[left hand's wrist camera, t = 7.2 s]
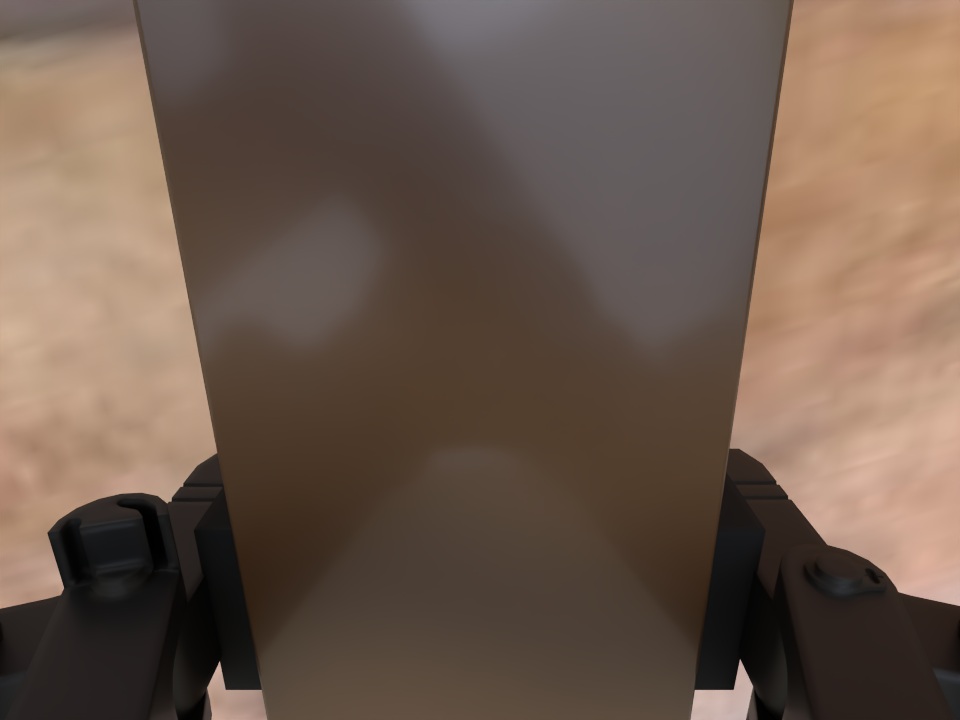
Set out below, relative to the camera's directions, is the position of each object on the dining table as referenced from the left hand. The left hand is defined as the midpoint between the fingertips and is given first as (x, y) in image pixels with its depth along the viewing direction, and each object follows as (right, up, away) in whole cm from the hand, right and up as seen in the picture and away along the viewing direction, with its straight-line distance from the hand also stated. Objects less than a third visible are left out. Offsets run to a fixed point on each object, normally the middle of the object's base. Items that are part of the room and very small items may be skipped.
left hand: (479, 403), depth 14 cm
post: (-1, +34, -12) cm, 36 cm away
